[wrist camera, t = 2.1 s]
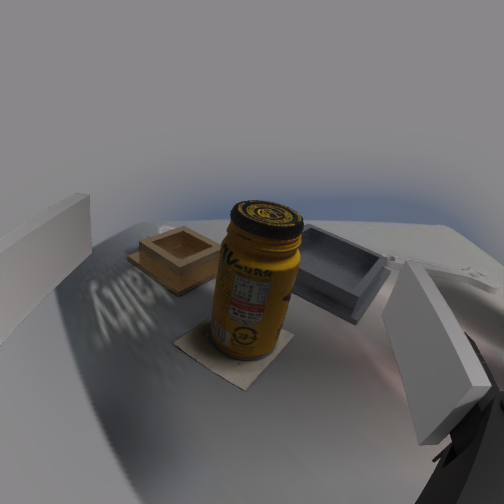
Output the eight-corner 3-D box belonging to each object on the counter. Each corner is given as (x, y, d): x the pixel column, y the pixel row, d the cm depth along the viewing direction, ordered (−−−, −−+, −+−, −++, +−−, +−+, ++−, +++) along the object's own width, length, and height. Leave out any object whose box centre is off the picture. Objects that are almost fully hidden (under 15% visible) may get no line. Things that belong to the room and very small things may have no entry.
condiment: (294, 335, 29) (329, 216, 24) (244, 392, 23) (277, 253, 17) (231, 302, 32) (249, 188, 27) (172, 345, 26) (177, 210, 20)
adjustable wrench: (379, 269, 46) (383, 258, 45) (373, 250, 51) (376, 241, 50) (499, 297, 43) (504, 288, 42) (486, 279, 49) (490, 271, 48)
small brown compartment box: (234, 267, 38) (237, 248, 37) (178, 296, 32) (179, 275, 30) (183, 239, 43) (184, 221, 41) (127, 260, 36) (127, 240, 35)
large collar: (389, 274, 43) (395, 258, 42) (355, 325, 32) (364, 305, 31) (301, 234, 50) (305, 219, 49) (243, 266, 39) (246, 247, 38)
